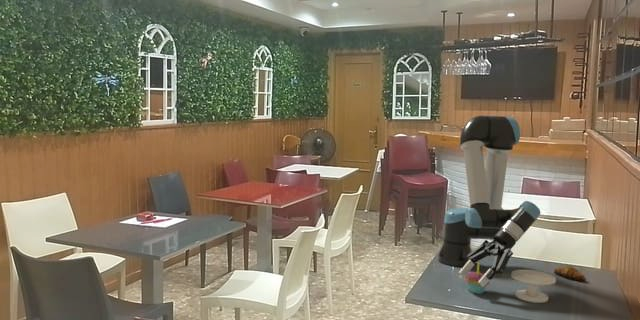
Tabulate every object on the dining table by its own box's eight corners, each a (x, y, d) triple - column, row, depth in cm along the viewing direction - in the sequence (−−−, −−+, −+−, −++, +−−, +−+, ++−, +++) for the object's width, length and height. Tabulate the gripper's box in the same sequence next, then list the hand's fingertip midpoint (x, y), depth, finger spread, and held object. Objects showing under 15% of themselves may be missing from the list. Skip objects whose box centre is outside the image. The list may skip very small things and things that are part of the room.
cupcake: (489, 296, 196) (491, 263, 195) (464, 293, 198) (467, 261, 197) (487, 289, 205) (489, 257, 204) (463, 286, 206) (465, 255, 205)
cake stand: (504, 298, 195) (506, 276, 195) (515, 287, 208) (517, 267, 207) (549, 308, 187) (551, 285, 186) (557, 296, 200) (559, 275, 199)
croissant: (589, 281, 221) (591, 269, 220) (580, 284, 217) (581, 271, 216) (559, 272, 232) (560, 260, 231) (549, 274, 228) (550, 262, 228)
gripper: (535, 250, 195) (497, 296, 190) (492, 235, 216) (457, 276, 212) (525, 236, 192) (485, 283, 188) (482, 222, 214) (446, 264, 209)
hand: (470, 279), depth 200 cm, fingers open, 11 cm apart
